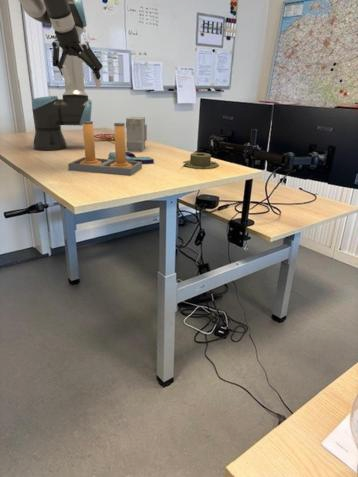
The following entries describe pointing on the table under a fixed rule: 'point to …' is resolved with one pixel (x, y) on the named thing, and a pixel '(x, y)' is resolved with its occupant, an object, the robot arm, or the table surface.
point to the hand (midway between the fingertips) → (83, 84)
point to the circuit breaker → (136, 134)
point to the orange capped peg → (120, 147)
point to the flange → (200, 161)
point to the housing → (105, 167)
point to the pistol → (133, 158)
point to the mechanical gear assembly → (105, 137)
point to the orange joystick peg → (89, 144)
